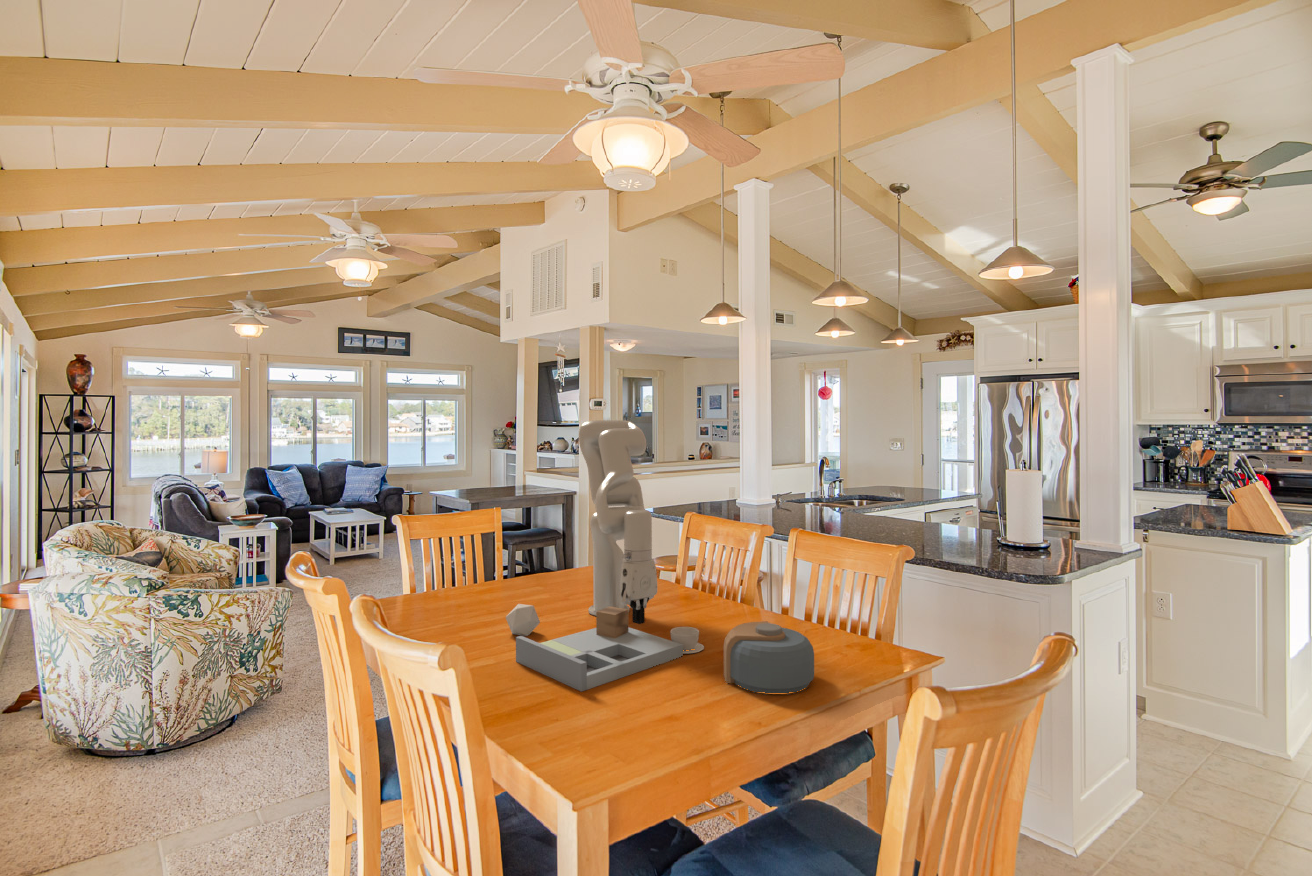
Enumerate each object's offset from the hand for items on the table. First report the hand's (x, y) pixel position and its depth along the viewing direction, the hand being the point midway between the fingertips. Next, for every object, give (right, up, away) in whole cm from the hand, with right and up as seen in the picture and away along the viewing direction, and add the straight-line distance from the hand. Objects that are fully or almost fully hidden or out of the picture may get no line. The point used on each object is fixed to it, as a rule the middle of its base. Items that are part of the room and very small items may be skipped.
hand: (638, 622), depth 181 cm
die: (-32, -4, +3) cm, 33 cm away
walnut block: (-7, -1, -7) cm, 10 cm away
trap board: (-8, -4, -17) cm, 19 cm away
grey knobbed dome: (+30, -4, -31) cm, 44 cm away
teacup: (+12, -4, -10) cm, 16 cm away
